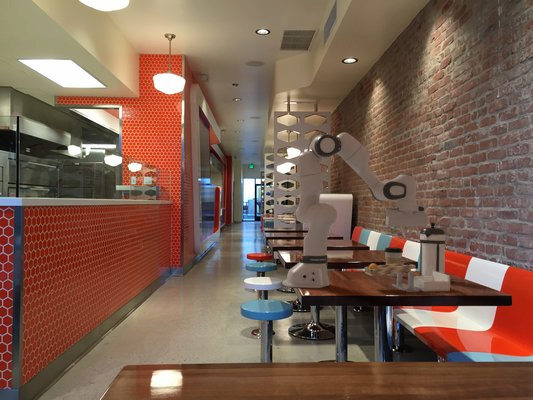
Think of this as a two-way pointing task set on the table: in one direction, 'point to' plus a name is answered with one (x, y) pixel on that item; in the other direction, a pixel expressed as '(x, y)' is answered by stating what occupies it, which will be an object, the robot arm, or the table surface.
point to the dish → (433, 282)
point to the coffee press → (432, 250)
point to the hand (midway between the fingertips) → (406, 236)
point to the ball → (373, 266)
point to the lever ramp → (390, 269)
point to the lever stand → (404, 286)
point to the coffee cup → (393, 257)
